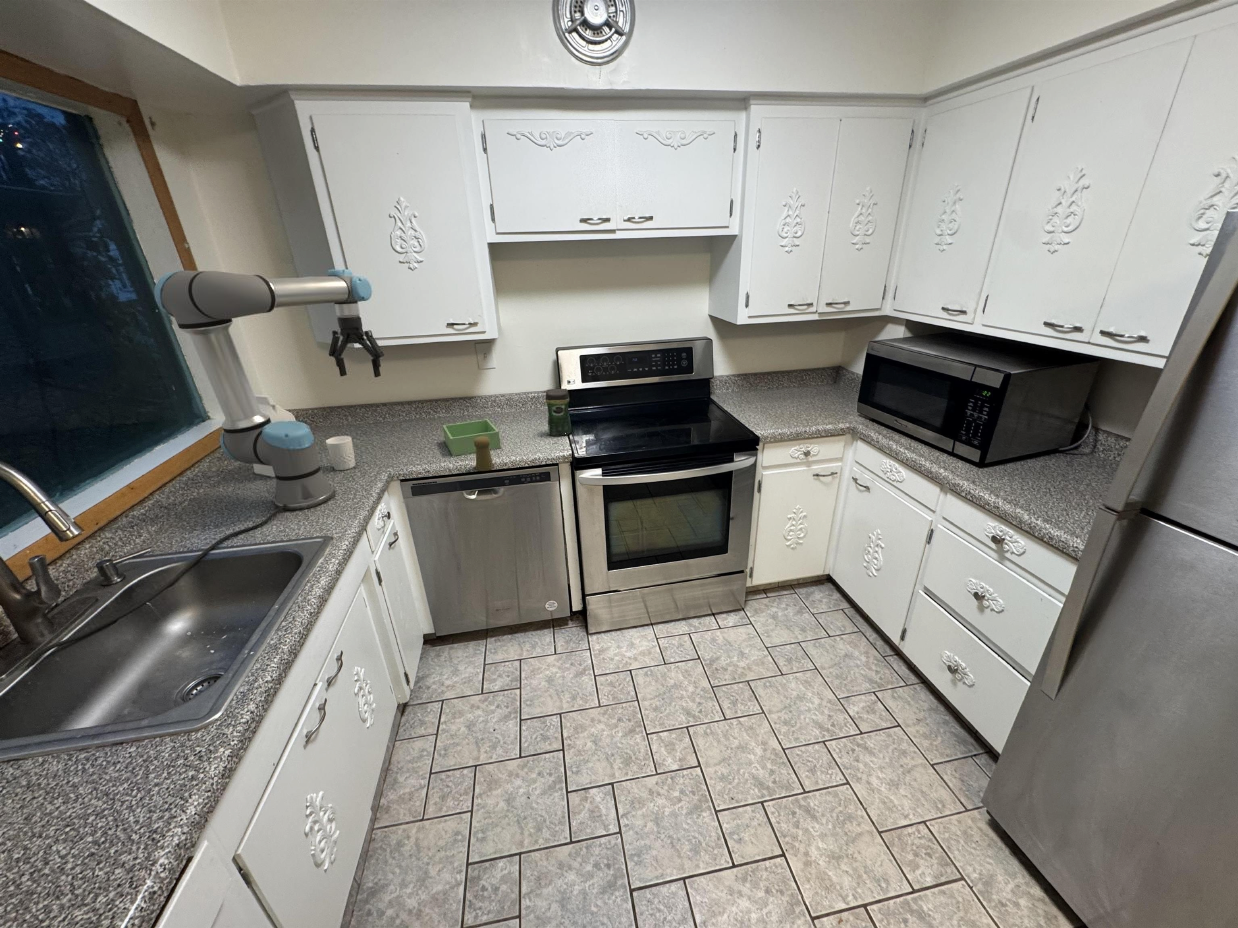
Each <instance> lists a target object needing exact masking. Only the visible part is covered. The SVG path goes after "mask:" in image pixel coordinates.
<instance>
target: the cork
mask: <svg viewBox="0 0 1238 928" xmlns="http://www.w3.org/2000/svg"><path fill="white" fill-rule="evenodd" d="M489 444H490V441H489V439H488V438H487V437H484V436H481V437H477V438H475V440H474V445H475V447H476V452H475V470H476V471H478V472H486V471H490V470H493V469H494V467H495V466H494V462H493V458H492V455H491V450H489Z"/></svg>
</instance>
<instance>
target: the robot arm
mask: <svg viewBox="0 0 1238 928" xmlns="http://www.w3.org/2000/svg"><path fill="white" fill-rule="evenodd" d="M372 295H373V290H372V285H371V283H370V281H369V280H368V278H366V277H364V276H359V275H358V276H357V275H353V271H351V269H328V270H327V275H320V276H319V275H315V276H314V275H313V276H312V275H309V276H304V277H277V278H276V277H275V278H266V277H265V276H263V275H262V274H261V275H260V274H245V273H234V272H229V271H228V272H227V271H218V270H177V271H171V272H167V273H165V274H163V275H162V276H161V277H159V279H158V280H157V282H156V283H155V285H154V299H155V301H156V304H157V306H158V307H159V309H161V311H162V312H164V313H166V314H167V315H168V316H170V317H172V318H174V320H175V323H176V324H177V327H178V328H179V330H180V331H182V332H184V333H186V334H188V335H189V337H190V339H191V342H192V344H193V346H194V348H195V352H196V353H197V356H198V358H199V360H200V362H201V364H202V367H203V369H204V372H205V374H206V377H207V380H208V381H209V384H210V386H211V388H212V390H213V393H214V395H215V397H216V400H217V402H218V405H219V407H220V409H221V412H222V414H223V417H224V418H225V419H224V420H223V422H222V423H221V428H222V431H221V433H220V434H221V436H220V437H219V445H220V447H221V449H222V451H223V453H224V454H225V455H226V456H227V457H228V458H230V460H231V459H232V460H234V461H237V462H240V463H243V464H247V465H248V464H249V465H253V464H260V465H268V466H272V468H273V471H274V474H275V477H274V478H275V491H274V493H275V494H274V499H273V500H274V504H275V507H276V508H277V509H276V510H274V511H272V512H271V514H270V515H268V516H267V517H266V518H265V519H263V520H262V521H260V522H258V523H256V524H254V525H251V526H249V527H245V528H242V529H239V530H236V531H233V532H231V533H229V534H227V535H225V536H223V537H221V538H219V539H218V540H216V541H215V542H213V543H212V544H211V545H210V546H208V547H207V548H206V549H204V550H203V551H202V552H201V553H199V554H198V555H197V556H196V557H195V558H194V559H193V560H192V561H190V563H188V564H187V565H186V566H185V567H184V568H183V569H182V570H180V571H179V572H178V573H177V574H176V575H175V576H174V577H173V578H171V580H168V582H167V583H166V584H164V585H163V586H162V587H160V588H159V589H158V590H156V591H155V592H153V593H152V594H151V595H149V596H148V597H146V598H145V599H143V600H142V601H140V602H138V603H137V604H135V605H134V606H132V607H130V608H129V609H127V610H125V611H123V612H122V613H120V614H118V615H115V616H114V617H112V618H110V619H108V620H106V621H105V622H103V623H102V622H101V623H100V624H98V625H96V626H94V627H92V628H90V629H89V630H86V631H83V632H82V633H80V634H78V635H74V636H71V637H70V638H66V639H64V640H61V641H58V642H55V643H52V644H50V645H48V646H46V647H44V648H42V649H40V650H39V651H38V652H37V653H35V654H34V655H33V656H32V657H31V658H30V660H29V661H28V662H27V664H26V666H25V668H31V667H33V666H34V665H35V663H36V662H37V661H38V660H39V659H40V657H42V656H43V655H44V654H46V653H47V652H49V651H52V650H54V649H57V648H59V647H62V646H65V645H67V644H70V643H74V642H76V641H78V640H80V639H83V638H86V637H87V636H89V635H91V634H94V633H95V632H97V631H99V630H101V629H103V628H105V627H107V626H109V625H112V624H113V623H116V622H117V621H119V620H121V619H122V618H125V617H126V616H128V615H131V614H132V613H133V612H135V611H136V610H138V609H140V608H142V607H143V606H145V605H147V604H149V602H150V601H152V600H154V599H155V598H157V597H158V596H159V595H160V594H162V593H163V592H165V591H166V590H167V589H168V588H170V587H171V586H172V585H174V583H176V581H178V580H179V579H180V578H181V577H183V576H184V574H186V573H187V572H188V571H189V570H190V569H191V568H193V566H194V565H195V564H196V563H197V562H198V561H200V560H201V559H202V558H203V557H204V556H206V555H207V554H208V553H210V551H212V550H213V549H214V548H216V547H217V546H218V545H219V544H221V543H223V542H224V541H225V540H228V539H230V538H232V537H234V536H237V535H239V534H243V533H246V532H248V531H252V530H254V529H257V528H259V527H261V526H263V525H265V524H266V523H267V522H269V521H270V520H271V519H273V517H275V516H276V515H277V514H278V513H280V512H281V511H282V510H283V511H298V510H299V511H300V510H306V509H310V508H313V507H316V506H320V505H322V504H323V503H326V502H327V501H329V500H331V499H332V498H333V497H334V496H335V491H334V487H333V485H332V484H331V483H330V482H329V480H328V479H327V477H326V476H325V474H324V473H323V471H322V468H321V464H320V459H319V454H318V450H317V447H316V443H315V437H314V435H313V433H312V430H311V428H310V426H309V425H308V424H306V423H304V422H301V421H297V420H296V421H278V422H273V423H272V422H271V420H270V417H269V415H268V414H266V413H264V412H262V411H261V410H260V408H259V405H258V403H257V400H256V398H255V395H256V394H255V392H254V390H253V388H252V385H251V382H250V380H249V378H248V375H247V373H246V372H247V371H246V370H245V367H244V365H243V362H242V360H241V357H240V355H239V352H238V349H237V347H236V344H235V342H234V340H233V339H234V338H233V337H232V334H231V331H230V327H231V326H232V325H233V324H234V323H233V322H234V320H233V319H238V318H243V317H247V316H253V315H260V314H268V313H272V312H273V311H274V310H275V309H279V308H289V307H302V306H312V305H323V304H333V305H334V311H335V316H337V318H336V320H337V325H338V328H339V329H340V330H339V329H334V330H332V331H331V335H332V337H331V342H330V346H329V349H328V356H329V357H331V358H333V359H334V361H335V366H336V368H338V372H339V377H341V378H342V377H345V376H347V375H348V374H347V373H348V372H347V368H346V364H345V360H344V359H345V358H344V357H343V356H342V355H343V353H344V352H345V351H346V348H347V347H348V345H350V344H358V345H359V346H361V347H362V348H363V349H364V350H365V352H367V354H369V356H371V366H372V370H373V376H374V378H379V377H381V375H382V374H381V369H380V368H381V367H382V363H381V358H382V357H384V356H385V353H384V352H383V350H382V349H381V347H380V345H379V344H378V342H377V341H376V338H375V337H374V335H373V332H372V330H370V329H368V330H363V321H362V316H360V315H361V311H360V306H359V302H366V301H369V300H370V299H371V298H372ZM341 337H342V339H341ZM340 339H341V340H340Z"/></svg>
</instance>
